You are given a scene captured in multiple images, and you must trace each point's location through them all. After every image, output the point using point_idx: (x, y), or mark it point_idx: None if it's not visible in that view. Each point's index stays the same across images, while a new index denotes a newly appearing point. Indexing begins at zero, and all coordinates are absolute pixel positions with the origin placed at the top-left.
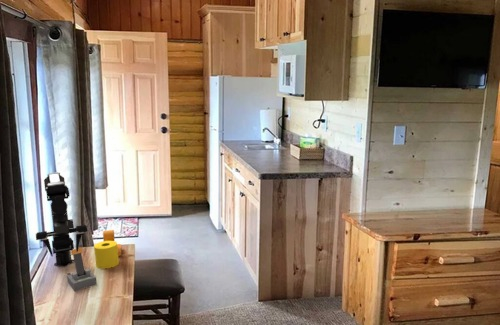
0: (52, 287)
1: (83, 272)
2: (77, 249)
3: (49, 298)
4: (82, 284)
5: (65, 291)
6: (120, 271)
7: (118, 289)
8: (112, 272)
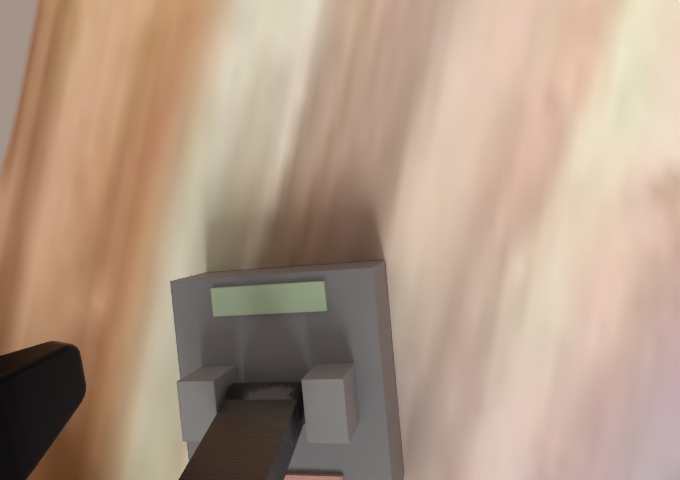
0: (544, 470)
1: (240, 394)
2: (10, 355)
3: (611, 247)
4: (302, 269)
5: (453, 305)
6: None
7: (91, 81)
8: None
